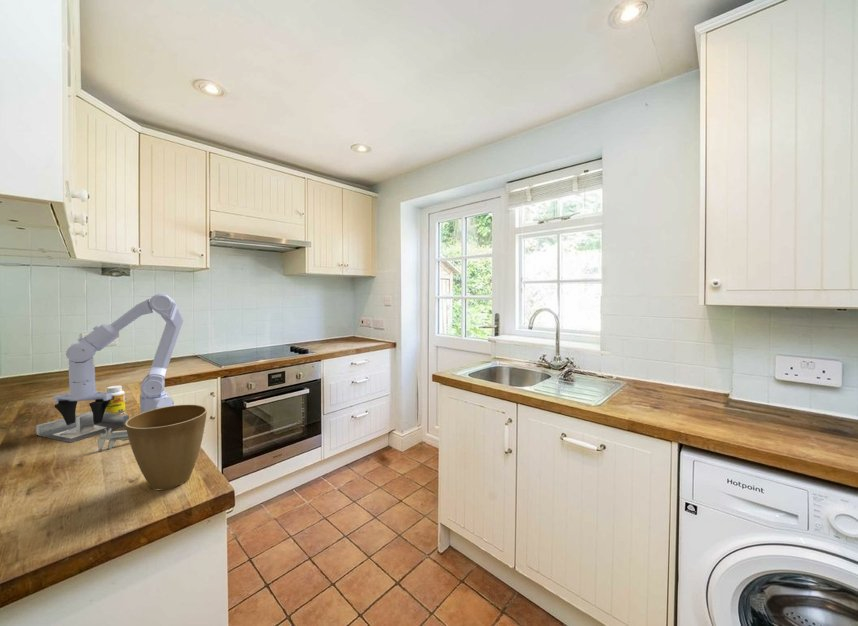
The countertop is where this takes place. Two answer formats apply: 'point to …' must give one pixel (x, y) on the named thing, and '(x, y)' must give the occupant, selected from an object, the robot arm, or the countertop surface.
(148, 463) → the plant pot
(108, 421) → the arena
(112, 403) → the supplement bottle
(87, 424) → the bracket
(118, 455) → the countertop surface
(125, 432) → the caliper
